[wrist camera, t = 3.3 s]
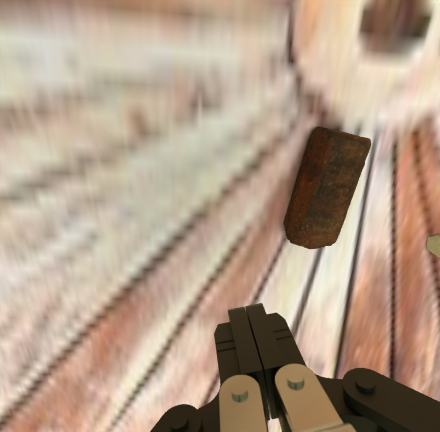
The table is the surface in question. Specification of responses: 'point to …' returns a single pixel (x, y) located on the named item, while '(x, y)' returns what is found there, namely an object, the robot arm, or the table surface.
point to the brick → (325, 187)
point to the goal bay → (434, 245)
